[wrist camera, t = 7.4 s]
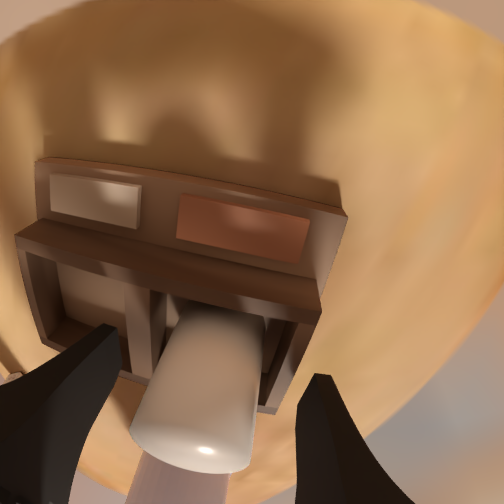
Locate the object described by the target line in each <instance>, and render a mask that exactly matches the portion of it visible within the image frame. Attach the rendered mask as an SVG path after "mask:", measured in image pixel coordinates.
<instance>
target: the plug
mask: <svg viewBox="0 0 504 504" xmlns="http://www.w3.org/2000/svg"><path fill="white" fill-rule="evenodd" d="M265 331H266V325H265V320H264V318H263V316H261V315H256V314H252V313H247V312H242V311H238V310H233V309H229V308H224V307H220V306H215V305H211V304H207V303H202V302H198V301H194V300H189V301H188V302H187V304H186V305H185V307H184V309H183V311H182V313H181V316H180V318H179V320H178V322H177V324H176V326H175V328H174V330H173V332H172V334H171V337H170V339H169V341H168V343H167V345H166V347H165V349H164V351H163V354H162V356H161V358H160V360H159V362H158V364H157V367H156V369H155V371H154V373H153V375H152V378H151V380H150V382H149V384H148V386H147V389H146V391H145V393H144V395H143V398H142V400H141V402H140V404H139V407H138V409H137V411H136V414H135V416H134V418H133V421H132V423H131V425H130V428H129V432H130V435H131V437H132V439H133V440H134V441H135V442H136V443H137V445H139V446H140V447H141V448H142V449H143V450H145V451H146V452H147V453H149V454H151V455H152V456H154V457H156V458H158V459H160V460H162V461H164V462H166V463H168V464H171V465H174V466H176V467H180V468H183V469H187V470H191V471H196V472H201V473H210V474H226V473H233V472H237V471H240V470H243V469H245V468H246V467H247V466H248V465H249V464H250V461H251V454H252V446H253V438H254V429H255V421H256V413H257V404H258V395H259V387H260V378H261V369H262V359H263V350H264V340H265Z"/></svg>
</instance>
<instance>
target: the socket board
mask: <svg viewBox="0 0 504 504" xmlns="http://www.w3.org/2000/svg"><path fill="white" fill-rule="evenodd" d="M35 190H36V207H37V219H38V221H36V222H35V223H33V224H31V225H30V226H28V227H26V228H25V229H23V230H22V231H20V232H18V233H17V234H15V241H16V247H17V253H18V258H19V263H20V268H21V273H22V277H23V281H24V285H25V289H26V293H27V297H28V301H29V304H30V308H31V311H32V315H33V318H34V321H35V324H36V327H37V330H38V333H39V336H40V339H41V342H42V344H44V345H46V346H48V347H50V348H53V349H55V350H57V351H59V352H63V351H64V350H66V349H67V348H69V347H70V346H71V345H73V344H74V343H76V342H77V341H78V340H80V339H81V338H83V337H84V336H85V335H87V334H88V333H90V332H91V331H92V330H94V329H95V328H97V327H98V326H100V325H101V324H103V323H105V324H108V325H111V326H114V327H117V329H118V337H119V344H120V350H121V357H122V363H123V364H122V367H121V369H120V372H119V375H118V376H120V377H122V378H125V379H128V380H131V381H134V382H137V383H140V384H143V385H146V386H148V384H149V382H150V380H151V378H152V375H153V373H154V371H155V369H156V367H157V364H158V362H159V360H160V358H161V356H162V354H163V351H164V349H165V347H166V345H167V343H168V341H169V339H170V337H171V334H172V332H173V330H174V328H175V326H176V324H177V322H178V320H179V318H180V316H181V313H182V311H183V309H184V307H185V305H186V304H187V302H188V301H189V300H194V301H198V302H202V303H207V304H211V305H215V306H220V307H224V308H229V309H233V310H238V311H242V312H247V313H252V314H256V315H261V316H263V318H264V320H265V325H266V331H265V340H264V350H263V359H262V369H261V378H260V387H259V395H258V404H257V412H259V413H266V414H272V415H275V414H276V412H277V410H278V408H279V406H280V404H281V402H282V400H283V398H284V396H285V394H286V392H287V390H288V388H289V385H290V383H291V381H292V379H293V377H294V375H295V373H296V371H297V368H298V366H299V364H300V362H301V360H302V357H303V355H304V353H305V351H306V349H307V346H308V344H309V342H310V339H311V337H312V335H313V332H314V330H315V328H316V325H317V323H318V320H319V318H320V316H321V313H322V308H321V303H320V297H321V295H322V292H323V289H324V287H325V284H326V281H327V279H328V276H329V273H330V270H331V267H332V265H333V262H334V259H335V256H336V253H337V250H338V247H339V244H340V241H341V238H342V235H343V232H344V229H345V226H346V223H347V220H348V216H347V215H346V213H345V212H344V210H343V209H342V208H338V207H334V206H330V205H326V204H322V203H318V202H314V201H310V200H306V199H301V198H297V197H293V196H289V195H284V194H280V193H275V192H271V191H266V190H262V189H257V188H252V187H247V186H242V185H238V184H232V183H227V182H222V181H217V180H212V179H206V178H201V177H195V176H190V175H184V174H178V173H172V172H166V171H159V170H153V169H146V168H139V167H132V166H125V165H117V164H110V163H101V162H93V161H84V160H74V159H64V158H53V157H48V158H44V159H41V160H38V161H35Z"/></svg>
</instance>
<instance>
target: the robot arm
mask: <svg viewBox="0 0 504 504" xmlns="http://www.w3.org/2000/svg"><path fill="white" fill-rule="evenodd" d="M122 364H123V363H122V357H121V350H120V344H119V337H118V329H117V327H114V326H111V325H108V324H105V323H103V324H101V325H100V326H98V327H97V328H95V329H94V330H92V331H91V332H90V333H88V334H87V335H85V336H84V337H83V338H81V339H80V340H78V341H77V342H76V343H74V344H73V345H71V346H70V347H69V348H67V349H66V350H64V351H63V352H61V353H60V354H58V355H57V356H55V357H54V358H52V359H51V360H49V361H47V362H46V363H44V364H43V365H41V366H39V367H38V368H36V369H34V370H32V371H31V372H29V373H27V374H25V375H23V376H21V377H19V378H17V379H15V380H13V381H10V382H8V383H5V384H3V385H1V386H0V504H68V502H69V496H70V491H71V486H72V482H73V478H74V474H75V471H76V467H77V464H78V461H79V458H80V455H81V452H82V449H83V446H84V443H85V441H86V438H87V436H88V433H89V431H90V429H91V427H92V425H93V423H94V421H95V420H96V418H97V416H98V414H99V412H100V410H101V409H102V407H103V405H104V403H105V401H106V399H107V398H108V396H109V394H110V392H111V390H112V388H113V387H114V384H115V382H116V379H117V377H118V375H119V372H120V369H121V367H122ZM295 433H296V464H297V489H296V498H295V504H415V503H414V502H413V501H412V500H410V498H408V497H407V496H406V494H404V492H403V491H402V490H401V489H400V488H399V487H398V486H397V485H396V484H395V483H394V482H393V480H392V479H391V478H390V477H389V476H388V474H387V473H386V472H385V471H384V469H383V468H382V467H381V466H380V464H379V463H378V461H377V460H376V459H375V457H374V455H373V454H372V452H371V451H370V449H369V448H368V446H367V445H366V443H365V441H364V440H363V438H362V436H361V434H360V433H359V431H358V429H357V427H356V425H355V423H354V422H353V420H352V418H351V416H350V414H349V412H348V410H347V408H346V406H345V404H344V402H343V400H342V398H341V396H340V393H339V391H338V389H337V387H336V385H335V383H334V380H333V378H332V377H331V375H326V374H318V373H314V375H313V377H312V379H311V381H310V383H309V385H308V386H307V388H306V390H305V392H304V394H303V396H302V397H301V399H300V401H299V403H298V404H297V415H296V427H295ZM231 474H232V473H226V474H210V473H201V472H196V471H191V470H187V469H183V468H180V467H176V466H174V465H171V464H168V463H166V462H164V461H162V460H160V459H158V458H156V457H154V456H152V455H151V454H149V453H147V452H146V451H145V450H143V453H142V456H141V458H140V461H139V464H138V467H137V470H136V473H135V476H134V479H133V481H132V484H131V487H130V490H129V493H128V496H127V499H126V502H125V504H225V503H226V496H227V490H228V484H229V478H230V476H231Z"/></svg>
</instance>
